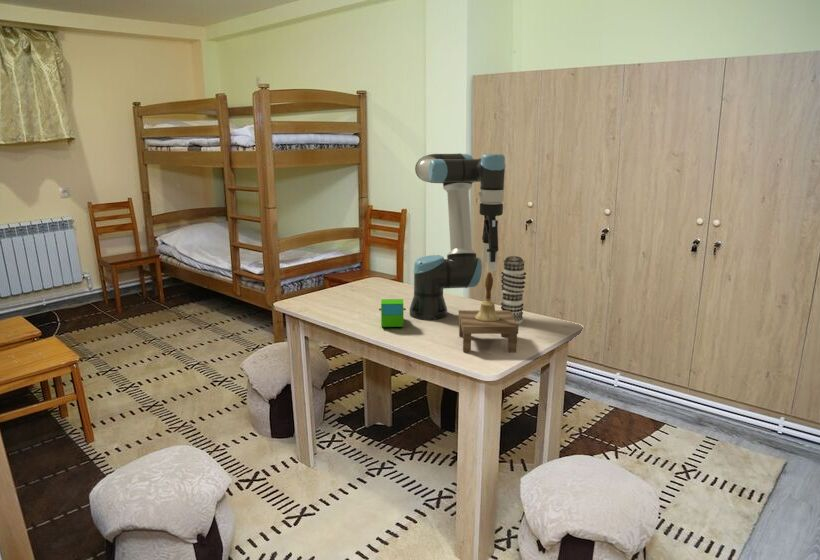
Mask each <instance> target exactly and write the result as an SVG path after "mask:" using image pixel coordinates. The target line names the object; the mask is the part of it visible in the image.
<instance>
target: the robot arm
mask: <svg viewBox="0 0 820 560" xmlns="http://www.w3.org/2000/svg"><path fill="white" fill-rule="evenodd" d="M505 158H506V157H505V155H504V154H501V153H485V154H482V155H481V157H480V158H473V156H472V155H470V154H468V153H461V152H459V153H432V154H427V155H423V156H422V157H421V158H419V159H418V160H417V161H416V164H415V167H414V168H415V169H414V171H415V175H416V176H417V178H419V180H421V181H423V182H425V183H431V184H442V185H443V186H442V187H443V188H442V189H443V190H445V191H446V193H447V207H448V209H447V212H448V225H449V245H450V246H449V247H450V250H449V252H448V253H447V254H446V258H445V257H444V256H443V255H439V254H432V255H431V254H430V255H425V256H421V257H419V258H417V259H416V260H415V262H414V263H413V266H414V267H413V297H412V301H411V303H410V306H409V315H410V317H412V318H415V319H418V320H430V321H431V320H439V319H443V318H446V317H447V316H448V307H447V304H446V301H445V298H444V289H445V290H446V289H468V288H475V287H477V286H478V285H479V283H480V281H481V279H482V274H483V273H482V272H483V263H487V273H489V272H490V273H492V272H493V273H494V272H497V266H498V265H497V262H498V261H497V259H498V251H499V233H498V232H499V231H498V230H499V229H498V225H499V221H498V219H496V217H499V216H502V215H503V213H504V204H503V202H504V197H505V196H504V194H505V189H504V187H505V173H506V172H505V170H506V159H505ZM477 182H478V183H479V182H480V192H478V196H479V200H480V201H479V202H480V203H479V214H480V216H484V217H483V219H484V220H483V231H482V237H481V238H482V239H481V240H482V242H483V243H482V257H481V258H482V259H481V258H480V257H477V252H476V251H475V250H473V244H472V243H473V241H472V229H471V228H472V226H471V225H472V224H471V223H472V222H471V210H470V209H471V207H470V190H471V188H472V187H473V184H474V183H477Z"/></svg>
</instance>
